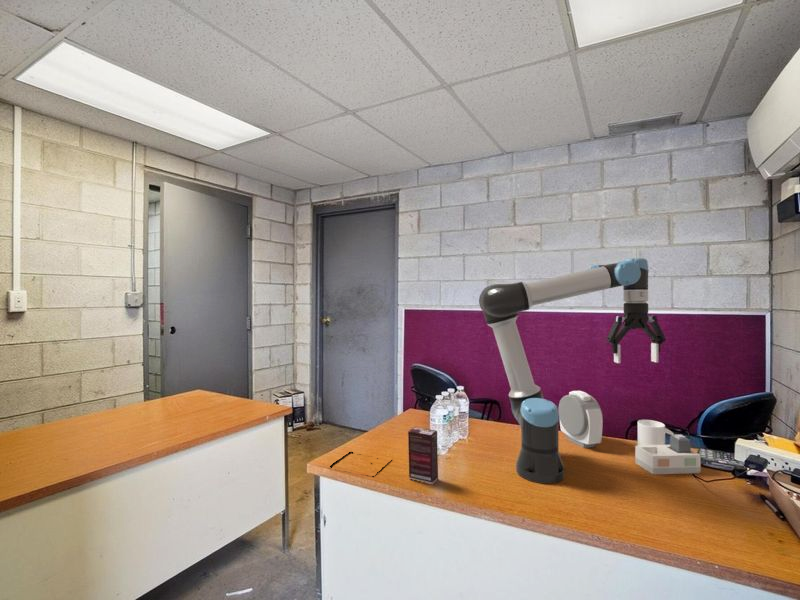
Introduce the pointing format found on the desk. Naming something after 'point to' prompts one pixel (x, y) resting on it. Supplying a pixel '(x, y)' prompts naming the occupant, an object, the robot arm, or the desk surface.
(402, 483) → the desk surface
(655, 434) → the mug
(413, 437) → the supplement box
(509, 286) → the robot arm
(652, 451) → the divided sorting tray
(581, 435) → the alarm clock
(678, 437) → the plug
